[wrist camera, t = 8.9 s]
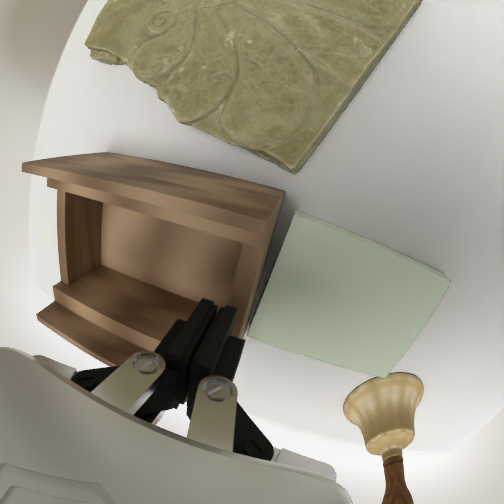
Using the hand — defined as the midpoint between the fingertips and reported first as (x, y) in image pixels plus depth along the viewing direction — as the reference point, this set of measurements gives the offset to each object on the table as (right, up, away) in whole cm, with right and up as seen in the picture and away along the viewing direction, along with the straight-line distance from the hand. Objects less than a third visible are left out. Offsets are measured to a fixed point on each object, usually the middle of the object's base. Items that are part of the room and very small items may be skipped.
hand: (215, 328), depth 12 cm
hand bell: (+15, -11, +9) cm, 20 cm away
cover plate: (+9, 0, +6) cm, 11 cm away
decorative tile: (+1, +20, +1) cm, 21 cm away
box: (-4, +4, +7) cm, 9 cm away
